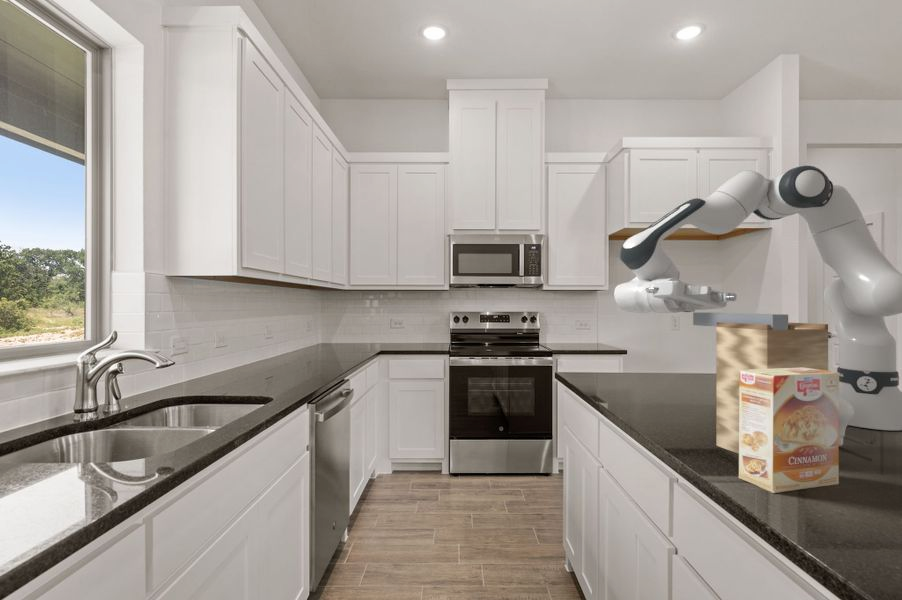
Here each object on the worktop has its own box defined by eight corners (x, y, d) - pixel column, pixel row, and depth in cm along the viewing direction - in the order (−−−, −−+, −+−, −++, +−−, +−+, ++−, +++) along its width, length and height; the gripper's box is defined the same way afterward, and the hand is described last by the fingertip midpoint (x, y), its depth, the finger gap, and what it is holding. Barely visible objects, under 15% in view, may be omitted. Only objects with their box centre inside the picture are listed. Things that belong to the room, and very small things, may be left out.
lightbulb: (821, 448, 99) (821, 397, 99) (814, 441, 105) (814, 392, 105) (857, 453, 96) (857, 400, 96) (849, 445, 102) (849, 395, 102)
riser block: (716, 445, 101) (716, 322, 101) (772, 440, 105) (772, 321, 106) (767, 464, 90) (767, 324, 90) (828, 456, 94) (828, 324, 94)
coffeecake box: (774, 494, 75) (774, 374, 76) (736, 478, 82) (736, 368, 82) (841, 485, 79) (841, 371, 80) (800, 470, 86) (800, 366, 86)
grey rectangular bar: (693, 325, 109) (693, 312, 109) (706, 325, 110) (706, 312, 110) (772, 330, 90) (772, 314, 90) (788, 329, 91) (788, 314, 91)
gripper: (642, 276, 114) (694, 272, 101) (695, 289, 123) (749, 287, 111) (639, 301, 113) (692, 300, 101) (693, 313, 122) (747, 313, 110)
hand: (722, 293), depth 106 cm, fingers open, 8 cm apart
